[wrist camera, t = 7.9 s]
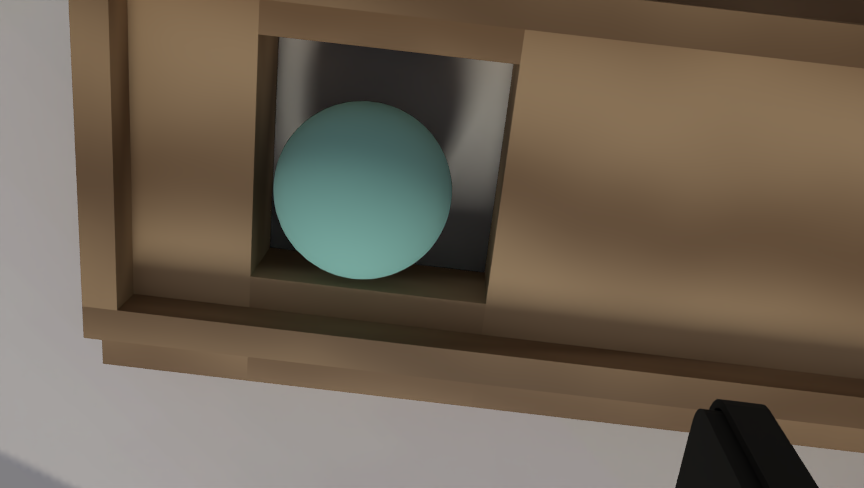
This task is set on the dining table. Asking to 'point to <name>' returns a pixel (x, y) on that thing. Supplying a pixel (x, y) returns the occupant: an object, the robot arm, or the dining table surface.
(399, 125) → the ball
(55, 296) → the dining table surface
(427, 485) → the dining table surface
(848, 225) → the track board
